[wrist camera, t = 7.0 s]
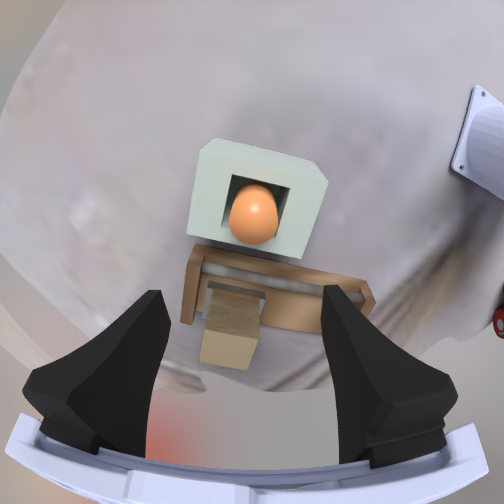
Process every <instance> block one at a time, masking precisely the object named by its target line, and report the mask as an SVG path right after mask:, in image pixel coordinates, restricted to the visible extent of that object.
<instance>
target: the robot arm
mask: <svg viewBox="0 0 504 504" xmlns="http://www.w3.org/2000/svg"><path fill="white" fill-rule="evenodd" d="M481 93H482V94H483V96H482V94H481ZM460 166H462V167H461V169H460ZM451 167H452V169H453V170H454V171H456V172H458V173H460V174H461V175H463V176H465V177H467V178H468V179H470V180H472V181H473V182H475V183H477V184H478V185H480V186H481V187H483V188H485V189H486V190H488V191H489V192H491V193H492V194H494V195H496V196H497V197H499V198H500V199H501V200H503V201H504V106H503V105H502V104H501V103H500V102H499V101H498V100H497V99H495V98H494V97H493V96H492V95H491V94H489V93H488V92H487V91H486V90H484V89H483V88H482V87H481V86H479V85H475V86H474V87H473V91H472V96H471V100H470V104H469V108H468V112H467V115H466V119H465V123H464V126H463V129H462V133H461V136H460V139H459V142H458V145H457V149H456V152H455V154H454V157H453V160H452V164H451ZM320 321H321V329H322V337H323V342H324V347H325V351H326V355H327V359H328V363H329V367H330V371H331V375H332V379H333V384H334V389H335V397H336V398H335V399H336V408H337V420H338V436H339V465H333V466H325V467H316V468H303V469H287V470H232V469H217V468H205V467H196V466H187V465H180V464H173V463H167V462H161V461H156V460H150V459H146V458H145V449H146V431H147V421H148V413H149V406H150V401H151V395H152V390H153V386H154V382H155V379H156V375H157V372H158V369H159V366H160V363H161V360H162V357H163V354H164V351H165V348H166V345H167V342H168V337H169V332H170V327H171V321H170V318H169V315H168V312H167V309H166V305H165V302H164V299H163V296H162V293H161V290H148V291H147V292H146V293H145V294H143V295H142V296H141V297H140V298H139V299H138V300H137V301H136V302H135V303H134V304H133V305H132V306H131V307H130V308H129V309H127V310H126V311H125V312H124V313H123V314H122V315H121V316H120V317H119V318H118V319H117V320H115V321H114V322H113V323H112V324H111V325H110V326H108V327H107V328H106V329H105V330H104V331H103V332H101V333H100V334H99V335H97V336H96V337H95V338H93V339H92V340H90V341H89V342H88V343H86V344H85V345H83V346H81V347H80V348H78V349H76V350H75V351H73V352H72V353H70V354H68V355H66V356H64V357H62V358H60V359H58V360H56V361H54V362H52V363H49V364H47V365H44V366H42V367H39V368H36V369H34V370H33V371H32V372H31V374H30V376H29V378H28V380H27V382H26V384H25V385H24V387H23V389H22V391H23V394H24V396H25V398H26V399H27V400H28V401H29V403H31V405H32V406H33V407H34V408H35V409H36V410H37V411H38V412H39V413H40V414H41V415H43V417H44V419H43V421H42V422H41V421H40V420H38V419H37V418H35V417H32V416H30V415H28V414H26V413H23V412H21V414H20V416H19V418H18V421H17V423H16V425H15V427H14V430H13V432H12V434H11V436H10V439H9V441H8V443H7V446H6V449H5V453H7V454H8V455H9V456H11V457H12V458H13V459H15V460H16V461H18V462H19V463H21V464H22V465H24V466H25V467H27V468H28V469H30V470H31V471H33V472H35V473H36V474H38V475H40V476H42V477H43V478H45V479H47V480H49V481H51V482H53V483H55V484H57V485H59V486H61V487H63V488H65V489H68V490H70V491H72V492H74V493H76V494H78V495H81V496H83V497H85V498H88V499H90V500H93V501H95V502H98V503H100V504H427V503H429V502H431V501H434V500H437V499H439V498H442V497H444V496H446V495H449V494H451V493H453V492H455V491H458V490H459V489H461V488H463V487H465V486H467V485H468V484H470V483H472V482H474V481H476V480H477V479H479V478H481V477H482V476H484V475H485V474H487V473H488V472H489V469H488V466H487V462H486V459H485V455H484V452H483V449H482V446H481V443H480V440H479V437H478V434H477V431H476V428H475V426H474V423H469V424H467V425H464V426H462V427H459V428H456V429H454V430H451V431H450V432H448V433H446V434H445V435H444V432H443V429H442V428H444V427H445V422H444V419H443V418H444V416H445V415H446V414H447V413H448V412H449V411H450V409H451V408H452V407H453V406H454V404H455V403H456V401H457V398H458V394H457V391H456V389H455V386H454V384H453V382H452V380H451V378H450V376H449V375H448V374H446V373H444V372H442V371H439V370H437V369H435V368H433V367H431V366H429V365H427V364H425V363H423V362H422V361H420V360H418V359H416V358H415V357H413V356H412V355H410V354H408V353H407V352H406V351H404V350H403V349H401V348H400V347H398V346H397V345H396V344H394V343H393V342H392V341H391V340H389V339H388V338H387V337H386V336H385V335H383V334H382V333H381V332H380V331H379V330H378V329H377V328H376V327H375V326H374V325H373V324H372V323H371V322H370V321H369V320H368V319H367V318H366V317H365V316H364V315H363V314H362V313H361V311H360V310H359V309H358V308H357V307H356V306H355V305H354V303H353V302H352V301H351V300H350V299H349V297H348V296H347V295H346V294H345V292H344V291H343V290H342V289H341V287H340V286H339V285H338V284H336V285H324V289H323V300H322V309H321V318H320ZM276 489H296V490H276Z"/></svg>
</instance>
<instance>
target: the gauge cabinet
mask: <svg viewBox="0 0 504 504" xmlns="http://www.w3.org/2000/svg"><path fill="white" fill-rule="evenodd" d="M250 182H260V183H263V184H265V185H267V186H268V187H269V188H270V189H271V190H272V191H273V193H274V195H275V200H276V208H277V216H278V227H277V231H276V233H275V234H274V236H273V237H272V238H271V239H269V240H268V241H266V242H264V243H262V244H257V245H250V244H246V243H243V242H241V241H239V240H238V239H237V238H236V237H235V236H234V235H233V234H232V232H231V230H230V227H229V217H230V213H231V209H232V205H233V201H234V197H235V194H236V192H237V191H238V189H239V188H240V187H241V186H243V185H244V184H247V183H250ZM328 183H329V182H328V181H327V179H326V178H325V177H324V175H323V174H322V172H321V171H320V170H319V169H318V167H317V166H316V165H315V163H314V162H312V161H309V160H305V159H302V158H298V157H294V156H291V155H287V154H283V153H279V152H275V151H271V150H267V149H263V148H259V147H255V146H251V145H246V144H242V143H237V142H233V141H228V140H223V139H218V138H214V139H213V140H212V141H211V142H209V143H208V144H207V145H206V146H205V147H204V148H203V149H202V150H200V154H199V159H198V165H197V170H196V176H195V182H194V188H193V193H192V200H191V206H190V212H189V219H188V226H187V233H186V234H190V235H195V236H199V237H204V238H208V239H213V240H217V241H222V242H226V243H231V244H235V245H240V246H244V247H249V248H253V249H258V250H262V251H267V252H271V253H276V254H280V255H285V256H289V257H293V258H298V259H301V258H302V255H303V253H304V250H305V247H306V245H307V242H308V239H309V237H310V234H311V231H312V228H313V226H314V223H315V220H316V217H317V214H318V212H319V209H320V206H321V203H322V200H323V197H324V194H325V191H326V189H327V186H328Z"/></svg>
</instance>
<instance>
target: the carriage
mask: <svg viewBox="0 0 504 504" xmlns="http://www.w3.org/2000/svg"><path fill="white" fill-rule="evenodd" d="M265 300H266V295H265V292H263V291H258V290H253V289H248V288H243V287H239V286H234V285H229V284H225V283H220V282H215V281H211V280H209V281H208V285H207V290H206V295H205V301H204V307H203V312H202V318H201V319H205V320H206V324H205V328H204V334H203V339H202V345H201V350H200V356H199V362H204V363H209V364H214V365H219V366H224V367H229V368H235V369H241V370H247V368H248V366H249V363H250V361H251V358H252V356H253V353H254V351H255V348H256V346H257V343H258V341H259V317H260V314H261V312H262V309H263V306H264V303H265Z"/></svg>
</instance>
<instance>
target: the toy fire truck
mask: <svg viewBox="0 0 504 504" xmlns="http://www.w3.org/2000/svg"><path fill="white" fill-rule="evenodd" d="M493 326H494V330H495V332H496V334H497V336H499V337H500V338H502V339H504V307H502V308H500V309H498V310H497V311H496V312H495V314H494V317H493Z"/></svg>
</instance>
